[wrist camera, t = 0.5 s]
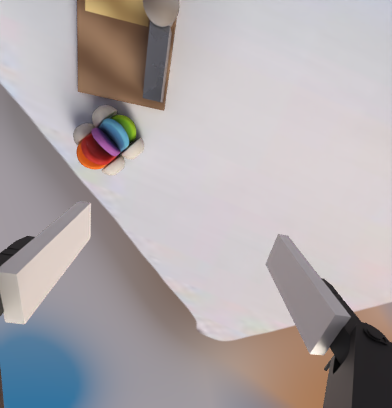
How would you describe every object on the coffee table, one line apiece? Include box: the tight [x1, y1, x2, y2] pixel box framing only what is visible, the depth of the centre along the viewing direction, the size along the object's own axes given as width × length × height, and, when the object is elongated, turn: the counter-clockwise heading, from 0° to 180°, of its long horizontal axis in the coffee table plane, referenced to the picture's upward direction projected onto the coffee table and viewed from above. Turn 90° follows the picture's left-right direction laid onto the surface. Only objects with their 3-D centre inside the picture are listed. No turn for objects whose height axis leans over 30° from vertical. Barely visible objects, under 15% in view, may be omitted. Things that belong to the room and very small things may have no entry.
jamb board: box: [77, 0, 179, 110], centre depth 26 cm, size 20×13×5 cm, turn 168°
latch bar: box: [143, 21, 172, 103], centre depth 28 cm, size 8×2×3 cm, turn 168°
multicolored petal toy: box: [73, 105, 144, 175], centre depth 31 cm, size 8×10×7 cm
